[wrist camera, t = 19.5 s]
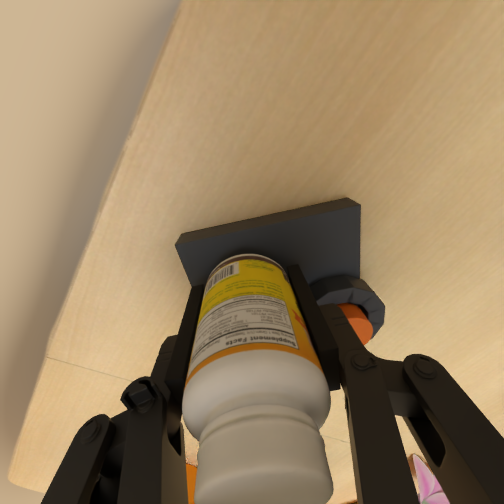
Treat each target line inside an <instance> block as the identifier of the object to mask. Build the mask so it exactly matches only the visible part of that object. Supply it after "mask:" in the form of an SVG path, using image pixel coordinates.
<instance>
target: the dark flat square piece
mask: <svg viewBox="0 0 504 504" xmlns="http://www.w3.org/2000/svg"><path fill="white" fill-rule="evenodd" d="M360 217H361V205H360V204H358V203H356V202H355V201H353V200H351V199H349V198H344V199H339V200H334V201H330V202H325V203H321V204H316V205H312V206H307V207H302V208H298V209H293V210H289V211H284V212H280V213H275V214H270V215H266V216H261V217H257V218H252V219H248V220H243V221H238V222H234V223H229V224H225V225H220V226H216V227H211V228H206V229H202V230H197V231H193V232H188V233H184V234H181V235H180V237H179V239H178V240H177V242H176V244H175V247H176V249H177V252H178V254H179V257H180V259H181V262H182V264H183V267H184V269H185V272H186V274H187V277H188V279H189V281H190V284H191V286H196V285H200V284H204V287H206V283H207V280H208V278H209V276H210V274H211V273H212V271H213V270H214V269H215V268H216V267H217V266H218V265H219V264H220V263H221V262H223V261H224V260H226V259H228V258H231V257H233V256H236V255H241V254H257V255H262V256H265V257H267V258H270V259H272V260H273V261H275V262H276V263H278V264H279V265H280V266H281V267H282V268H283V270H284V271H285V273H286V274H287V276H288V272H287V266H291V265H296V264H298V265H299V267H300V269H301V271H302V273H303V275H304V277H305V279H306V281H307V283H308V285H309V287H310V289H311V292H312V294H313V296H314V298H315V300H316V302H317V304H318V306H320V305H324V304H329V303H334V304H336V305H337V304H341V303H350V304H354V305H356V306H358V307H359V308H360V309H361V311H362V312H363V313H364V315H365V316H366V318H367V319H368V320H369V322H370V323H371V325H372V327H373V334H372V337H371V338H373V337H374V336H375V334H376V333H377V332H378V330H379V329H380V328H381V326H382V325H383V324H384V315H385V305H384V304H383V302H382V301H381V300H380V299H379V297H378V296H377V295H376V294H375V292H374V291H373V290H372V289H371V288H370V287H369V286H368V285H367V283H366V282H365V281H363V280H362V279H360ZM288 279H289V278H288ZM370 340H371V339H370Z"/></svg>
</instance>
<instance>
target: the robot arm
mask: <svg viewBox="0 0 504 504" xmlns="http://www.w3.org/2000/svg"><path fill="white" fill-rule="evenodd" d="M287 272H288V278H289V281H290V283H291V286H292V289H293V292H294V294H295V297H296V300H297V303H298V305H299V308H300V311H301V313H302V316H303V319H304V321H305V324H306V327H307V330H308V332H309V335H310V338H311V340H312V343H313V346H314V349H315V351H316V354H317V356H318V359H319V362H320V365H321V367H322V370H323V373H324V375H325V378H326V381H327V384H328V387H329V391H334V390H339V389H341V388H340V383H341V386H342V388H343V390H344V393H345V409H346V413H347V421H348V429H349V437H350V445H351V453H352V461H353V469H354V477H355V485H356V493H357V501H358V504H420V502H419V499H418V495H417V492H416V488H415V485H414V481H413V478H412V474H411V471H410V467H409V464H408V461H407V457H406V454H405V450H404V447H403V443H402V440H401V436H400V433H399V429H398V426H397V422H396V419H395V415H398V416H402V417H403V419H404V421H405V422H406V424H407V426H408V428H409V430H410V432H411V433H412V435H413V437H414V439H415V441H416V443H417V444H418V446H419V448H420V450H421V452H422V453H423V455H424V457H425V459H426V461H427V463H428V464H429V466H430V468H431V470H432V472H433V473H434V475H435V477H436V479H437V481H438V483H439V484H440V486H441V488H442V490H443V492H444V494H445V495H446V497H447V499H448V501H449V503H450V504H504V438H503V437H502V436H501V435H500V433H499V432H498V431H497V430H496V429H495V427H494V426H493V425H492V424H491V423H490V421H489V420H488V419H487V418H486V417H485V416H484V414H483V413H482V412H481V411H480V410H479V408H478V407H477V406H476V405H475V404H474V403H473V401H472V400H471V399H470V398H469V397H468V395H467V394H466V393H465V392H464V391H463V389H462V388H461V387H460V386H459V385H458V384H457V382H456V381H455V380H454V379H453V378H452V376H451V375H450V374H449V373H448V372H447V371H446V369H445V368H444V367H443V366H442V365H441V364H440V363H439V362H437V361H436V360H434V359H432V358H431V357H429V356H425V355H422V354H412V355H409V356H407V357H406V358H405V359H404V361H403V362H402V361H393V360H385V359H381V358H378V357H376V356H374V355H373V354H372V353H370V352H369V351H367V349H366V348H365V347H364V345H363V344H362V342H361V340H360V339H359V337H358V335H357V334H356V332H355V330H354V329H353V327H352V326H351V324H350V323H349V321H348V319H347V317H346V316H345V314H344V312H343V311H342V309H341V308H340V307H338V306H337V305H336V304H334V303H329V304H324V305H320V306H318V304H317V302H316V300H315V298H314V296H313V294H312V292H311V289H310V287H309V285H308V283H307V281H306V279H305V277H304V275H303V273H302V271H301V269H300V267H299V265H298V264H296V265H291V266H287ZM204 292H205V287H204V284H200V285H196V286H192V288H191V292H190V295H189V299H188V302H187V305H186V309H185V312H184V315H183V319H182V322H181V326H180V329H179V332H178V335H174V336H169V337H167V339H166V340H165V341H164V343H163V344H162V345H161V348H160V351H159V355H158V357H157V359H156V363H155V365H154V368H153V370H152V373H151V376H150V377H147V376H144V377H141V378H138V379H136V380H135V381H133V382H132V383H131V384H130V385H129V386H128V387H127V388H126V389H125V391H124V392H123V394H122V396H121V399H120V400H121V401H122V403H123V404H124V405H125V406H126V407H127V409H128V410H126V411H124V412H122V413H120V414H118V415H116V416H114V417H112V418H111V419H110V418H109V417H108V416H107V415H105V414H99V415H97V416H94V417H92V418H91V419H90V420H88V421H87V422H86V423H85V424H84V425H83V426H82V427H81V428H80V429H79V431H78V432H77V434H76V435H75V437H74V439H73V441H72V443H71V445H70V447H69V449H68V451H67V453H66V455H65V457H64V459H63V461H62V463H61V465H60V466H59V468H58V470H57V472H56V474H55V476H54V478H53V480H52V482H51V484H50V486H49V488H48V490H47V492H46V494H45V496H44V498H43V500H42V502H41V504H189V503H188V488H187V473H186V458H185V444H184V429H183V425H182V423H181V422H180V421H181V416H182V402H183V395H184V388H185V383H186V378H187V374H188V369H189V364H190V359H191V354H192V349H193V344H194V340H195V335H196V330H197V325H198V320H199V315H200V311H201V306H202V301H203V296H204Z"/></svg>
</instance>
